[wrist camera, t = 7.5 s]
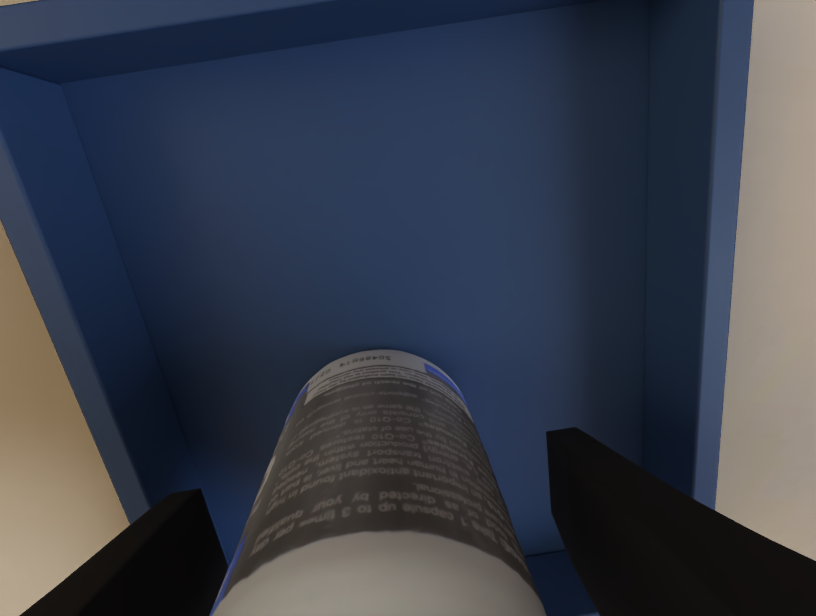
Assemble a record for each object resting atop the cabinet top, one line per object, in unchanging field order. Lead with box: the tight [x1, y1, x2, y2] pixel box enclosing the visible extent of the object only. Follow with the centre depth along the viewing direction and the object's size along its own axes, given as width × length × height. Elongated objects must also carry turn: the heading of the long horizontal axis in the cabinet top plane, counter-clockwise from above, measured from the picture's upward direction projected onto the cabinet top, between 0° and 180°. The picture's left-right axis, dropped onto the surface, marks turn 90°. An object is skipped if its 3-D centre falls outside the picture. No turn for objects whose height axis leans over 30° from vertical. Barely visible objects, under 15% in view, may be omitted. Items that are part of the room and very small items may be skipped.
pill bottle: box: [209, 349, 547, 616], centre depth 7 cm, size 5×5×8 cm
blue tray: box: [0, 0, 754, 616], centre depth 10 cm, size 15×13×3 cm
